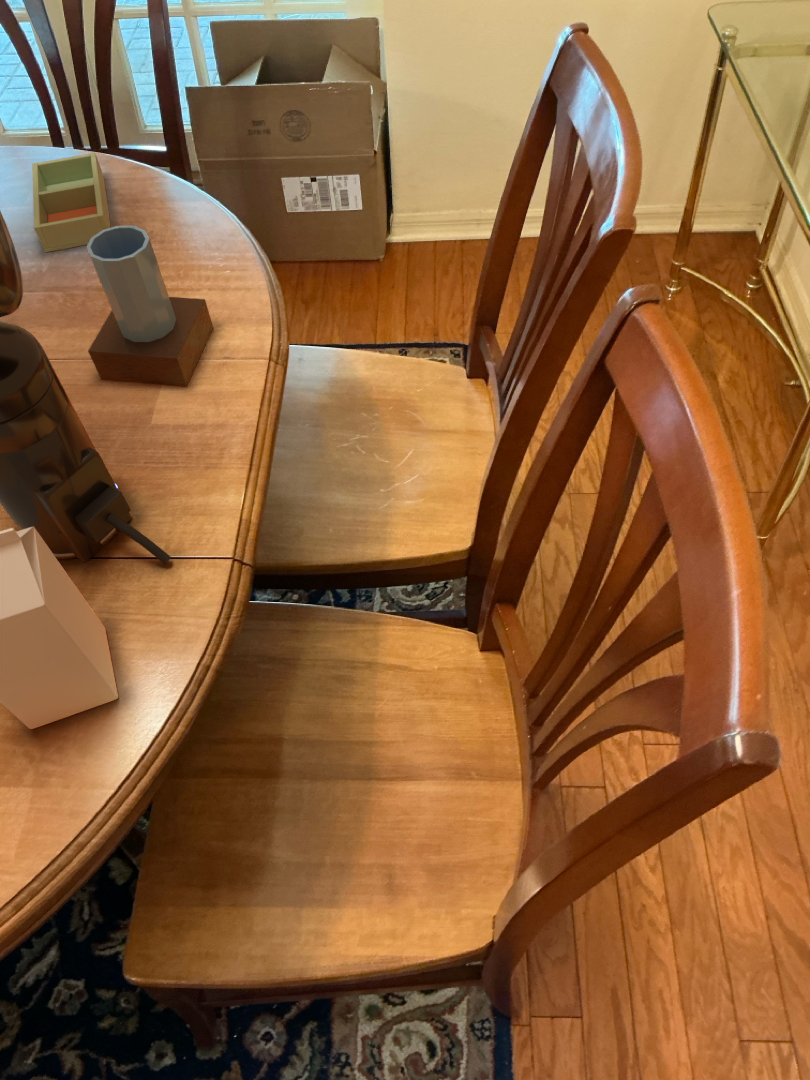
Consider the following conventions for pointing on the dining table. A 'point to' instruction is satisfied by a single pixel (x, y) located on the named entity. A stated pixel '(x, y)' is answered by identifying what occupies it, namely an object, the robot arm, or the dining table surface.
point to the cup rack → (69, 201)
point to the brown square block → (155, 348)
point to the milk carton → (47, 637)
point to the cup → (132, 282)
